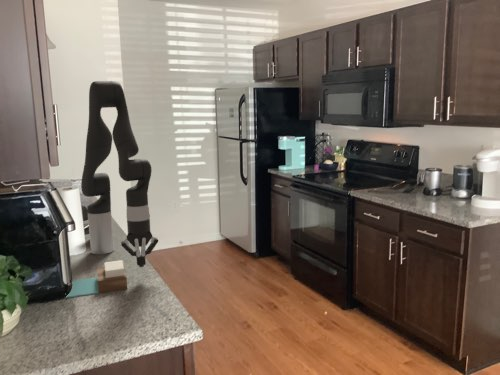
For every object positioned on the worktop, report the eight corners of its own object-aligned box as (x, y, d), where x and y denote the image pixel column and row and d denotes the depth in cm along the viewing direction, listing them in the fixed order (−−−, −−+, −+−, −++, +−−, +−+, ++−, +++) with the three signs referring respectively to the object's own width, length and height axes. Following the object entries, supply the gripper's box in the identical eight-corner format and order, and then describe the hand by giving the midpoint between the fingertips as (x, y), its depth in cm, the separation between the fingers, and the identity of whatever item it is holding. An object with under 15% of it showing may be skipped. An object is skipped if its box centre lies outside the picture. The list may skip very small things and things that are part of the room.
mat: (67, 282, 150) (67, 281, 150) (98, 278, 153) (98, 277, 153) (65, 298, 137) (65, 297, 137) (98, 293, 140) (98, 292, 140)
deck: (98, 278, 153) (97, 268, 152) (124, 275, 156) (123, 264, 155) (98, 292, 141) (97, 281, 140) (127, 288, 144) (126, 277, 143)
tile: (105, 268, 151) (104, 262, 151) (122, 266, 153) (122, 260, 153) (105, 277, 143) (105, 271, 143) (124, 275, 145) (124, 268, 144)
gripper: (156, 213, 154) (159, 260, 157) (117, 217, 149) (120, 265, 152) (159, 218, 147) (162, 267, 150) (118, 222, 142) (122, 272, 145)
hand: (141, 266), depth 151 cm, fingers closed
